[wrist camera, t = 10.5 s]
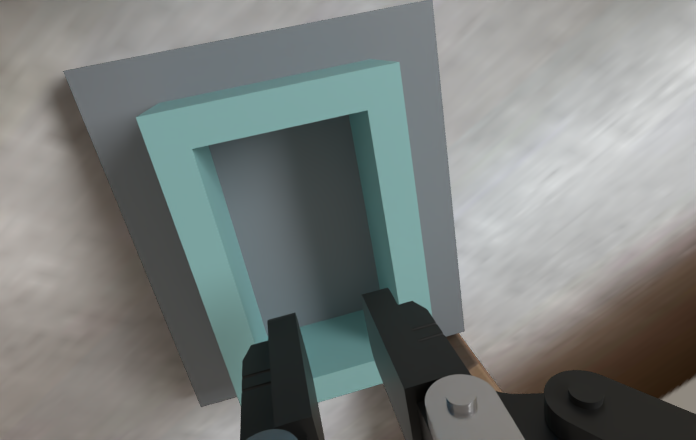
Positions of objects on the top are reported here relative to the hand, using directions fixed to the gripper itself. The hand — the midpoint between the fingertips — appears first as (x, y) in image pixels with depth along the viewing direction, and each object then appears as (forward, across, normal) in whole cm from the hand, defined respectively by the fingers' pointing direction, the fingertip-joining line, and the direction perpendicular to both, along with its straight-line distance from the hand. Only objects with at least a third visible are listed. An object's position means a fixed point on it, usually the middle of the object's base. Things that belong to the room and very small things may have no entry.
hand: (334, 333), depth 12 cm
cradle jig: (+9, 0, 0) cm, 9 cm away
